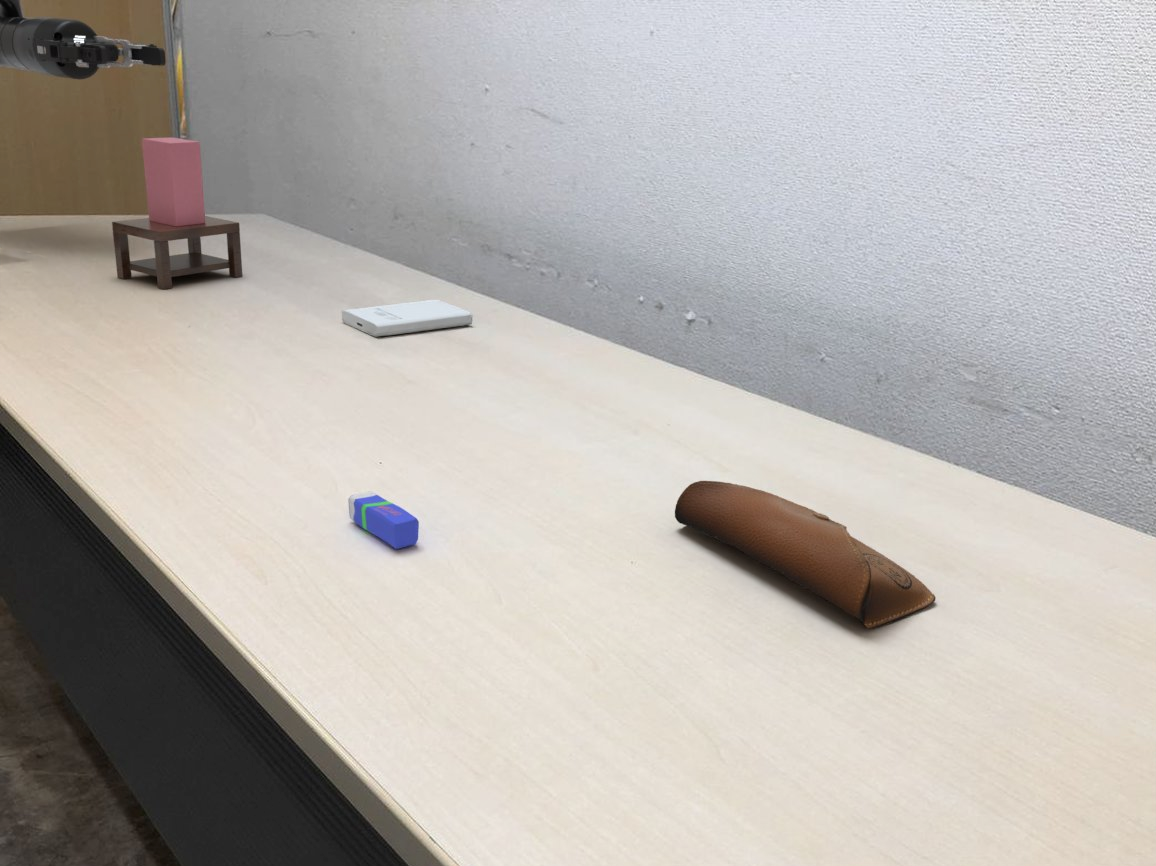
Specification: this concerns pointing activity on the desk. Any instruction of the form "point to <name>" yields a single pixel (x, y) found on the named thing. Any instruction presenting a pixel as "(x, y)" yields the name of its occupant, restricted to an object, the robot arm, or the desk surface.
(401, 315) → the hard drive
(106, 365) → the desk surface
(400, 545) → the eraser
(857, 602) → the sunglasses case
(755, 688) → the desk surface
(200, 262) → the wooden coffee table
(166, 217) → the pink box
